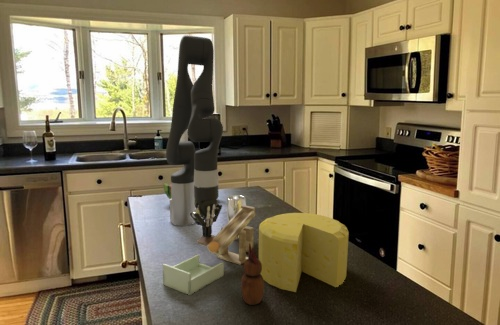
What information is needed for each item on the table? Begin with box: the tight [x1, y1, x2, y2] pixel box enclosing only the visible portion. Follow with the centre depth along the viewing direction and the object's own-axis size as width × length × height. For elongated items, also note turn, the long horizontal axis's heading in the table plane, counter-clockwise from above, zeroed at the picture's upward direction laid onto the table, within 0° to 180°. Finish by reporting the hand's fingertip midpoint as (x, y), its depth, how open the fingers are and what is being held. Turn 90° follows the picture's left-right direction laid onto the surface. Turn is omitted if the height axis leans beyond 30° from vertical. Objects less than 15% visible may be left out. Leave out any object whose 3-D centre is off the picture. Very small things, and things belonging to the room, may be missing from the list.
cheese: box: [258, 212, 350, 293], centre depth 119 cm, size 26×26×15 cm
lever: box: [196, 204, 257, 256], centre depth 128 cm, size 20×11×3 cm, turn 144°
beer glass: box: [226, 194, 247, 241], centre depth 146 cm, size 7×7×15 cm
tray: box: [162, 254, 225, 296], centre depth 113 cm, size 10×14×6 cm
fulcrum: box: [216, 225, 254, 266], centre depth 130 cm, size 12×9×10 cm
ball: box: [208, 241, 219, 252], centre depth 120 cm, size 3×3×3 cm
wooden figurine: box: [240, 243, 265, 306], centre depth 101 cm, size 7×6×15 cm
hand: (207, 236), depth 127 cm, fingers closed
